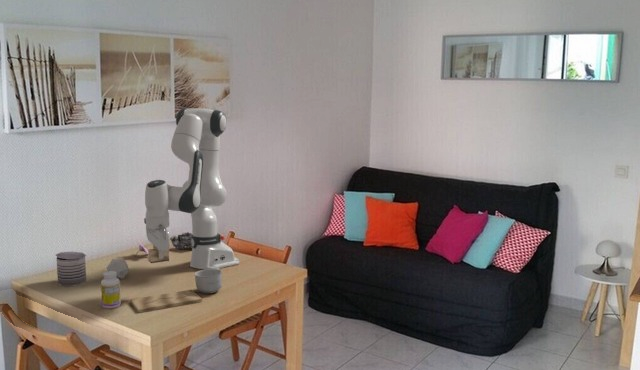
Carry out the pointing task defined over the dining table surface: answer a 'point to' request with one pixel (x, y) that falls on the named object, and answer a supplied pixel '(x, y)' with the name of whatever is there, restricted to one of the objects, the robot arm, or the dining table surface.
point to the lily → (142, 248)
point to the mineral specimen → (182, 240)
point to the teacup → (208, 280)
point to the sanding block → (154, 256)
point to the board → (165, 300)
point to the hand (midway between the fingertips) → (158, 256)
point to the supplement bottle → (110, 290)
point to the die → (118, 267)
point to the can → (71, 268)
